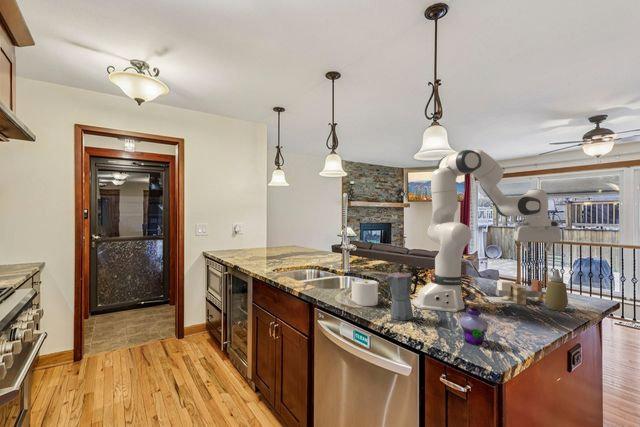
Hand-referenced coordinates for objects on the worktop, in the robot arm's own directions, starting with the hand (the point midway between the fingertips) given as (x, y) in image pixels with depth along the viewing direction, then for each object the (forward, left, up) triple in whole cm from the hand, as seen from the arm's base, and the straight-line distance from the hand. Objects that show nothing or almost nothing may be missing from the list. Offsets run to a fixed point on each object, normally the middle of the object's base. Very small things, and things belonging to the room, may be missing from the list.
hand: (537, 250), depth 146 cm
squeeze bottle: (+1, -12, -25) cm, 28 cm away
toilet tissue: (-85, -12, -25) cm, 89 cm away
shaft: (-9, 0, -22) cm, 24 cm away
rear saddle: (+3, 0, -25) cm, 25 cm away
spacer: (-16, 0, -19) cm, 25 cm away
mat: (-18, 0, -25) cm, 30 cm away
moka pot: (-71, -30, -25) cm, 81 cm away
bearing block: (-11, 0, -25) cm, 27 cm away
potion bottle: (-52, -52, -25) cm, 77 cm away
